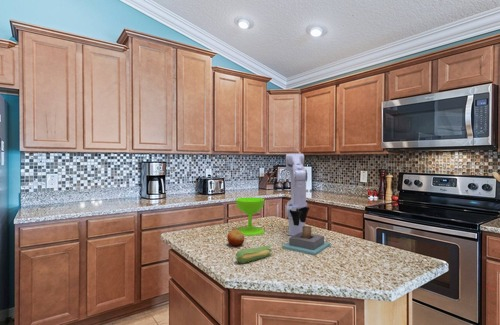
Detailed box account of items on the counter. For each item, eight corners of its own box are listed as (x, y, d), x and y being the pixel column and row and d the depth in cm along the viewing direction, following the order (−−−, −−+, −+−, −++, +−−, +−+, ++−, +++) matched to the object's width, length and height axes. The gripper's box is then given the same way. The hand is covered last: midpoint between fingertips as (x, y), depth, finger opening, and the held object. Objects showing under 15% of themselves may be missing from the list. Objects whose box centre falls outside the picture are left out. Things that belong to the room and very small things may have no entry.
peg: (303, 242, 136) (303, 225, 136) (311, 243, 134) (311, 226, 134) (301, 245, 132) (301, 227, 132) (310, 246, 131) (310, 228, 131)
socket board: (299, 239, 145) (299, 230, 145) (330, 244, 136) (330, 235, 136) (282, 248, 131) (282, 238, 131) (315, 255, 121) (315, 244, 121)
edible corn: (231, 251, 114) (238, 250, 110) (270, 244, 126) (277, 243, 122) (233, 264, 113) (239, 264, 109) (272, 256, 125) (279, 256, 121)
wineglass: (261, 227, 169) (261, 197, 169) (266, 235, 153) (267, 201, 153) (234, 228, 167) (234, 197, 167) (236, 236, 151) (237, 201, 151)
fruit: (233, 237, 142) (239, 225, 139) (243, 249, 138) (249, 236, 134) (220, 241, 137) (226, 228, 134) (230, 253, 132) (236, 240, 129)
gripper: (298, 192, 144) (297, 219, 145) (285, 196, 132) (285, 225, 133) (311, 194, 141) (311, 221, 141) (299, 197, 128) (299, 227, 129)
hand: (299, 223), depth 136 cm, fingers open, 7 cm apart
